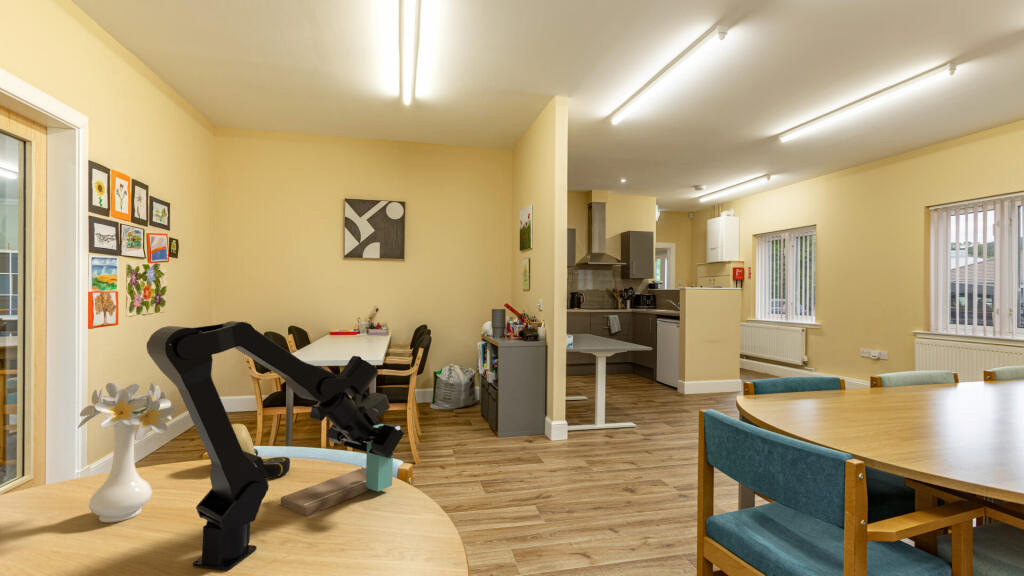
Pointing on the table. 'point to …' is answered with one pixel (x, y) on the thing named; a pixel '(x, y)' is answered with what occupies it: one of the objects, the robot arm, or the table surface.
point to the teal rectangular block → (377, 470)
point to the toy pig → (244, 438)
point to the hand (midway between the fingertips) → (384, 454)
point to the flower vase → (126, 447)
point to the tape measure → (276, 466)
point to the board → (326, 493)
